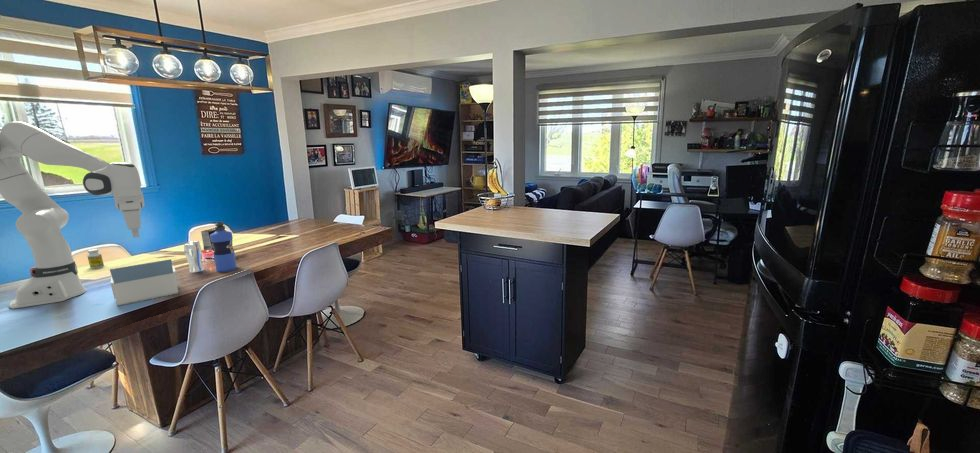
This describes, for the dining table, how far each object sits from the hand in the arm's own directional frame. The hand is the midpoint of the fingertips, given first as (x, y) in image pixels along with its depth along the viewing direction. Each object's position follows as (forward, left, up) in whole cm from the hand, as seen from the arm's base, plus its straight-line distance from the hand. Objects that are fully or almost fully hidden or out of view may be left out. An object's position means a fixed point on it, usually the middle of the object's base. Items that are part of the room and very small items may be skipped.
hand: (136, 236), depth 165 cm
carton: (0, +8, -28) cm, 29 cm away
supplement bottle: (-19, +81, -28) cm, 88 cm away
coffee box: (+32, +58, -28) cm, 72 cm away
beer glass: (+20, +34, -28) cm, 48 cm away
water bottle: (+32, +26, -28) cm, 50 cm away
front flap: (0, -2, -14) cm, 14 cm away
